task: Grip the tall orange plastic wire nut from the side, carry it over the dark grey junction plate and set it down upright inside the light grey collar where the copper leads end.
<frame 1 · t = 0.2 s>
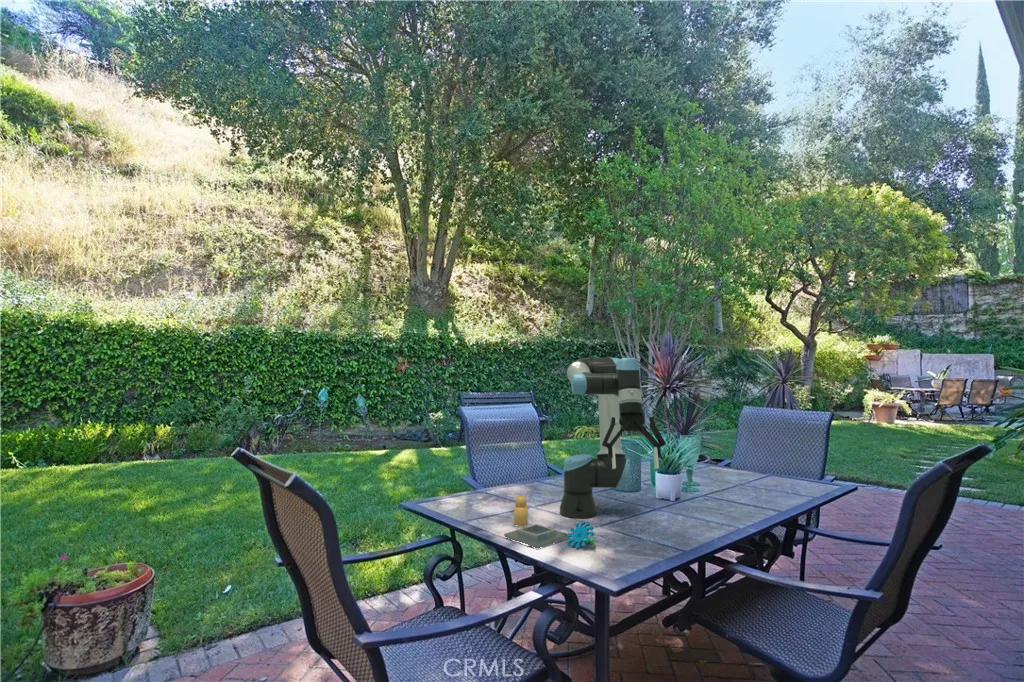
hand: (635, 468, 172), 28 cm above the table, tool tilted 20°, fingers open, 13 cm apart
gear: (581, 547, 181), on the table
junction box: (536, 538, 189), on the table
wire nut: (520, 525, 204), on the table
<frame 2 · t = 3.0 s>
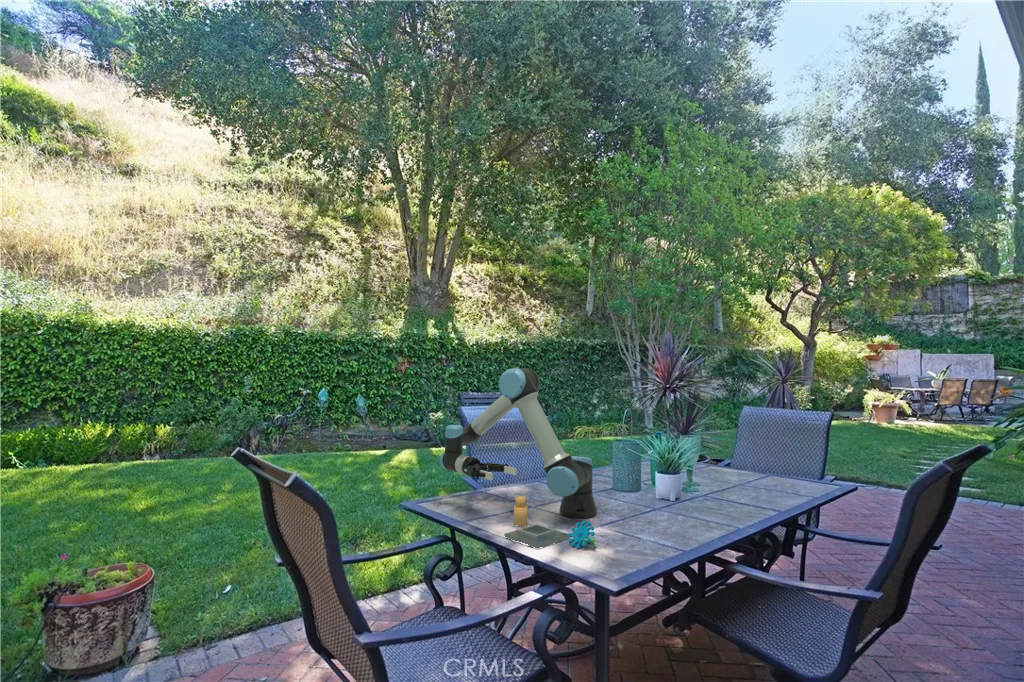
hand: (504, 474, 211), 18 cm above the table, tool horizontal, fingers open, 13 cm apart
nothing on the table moved.
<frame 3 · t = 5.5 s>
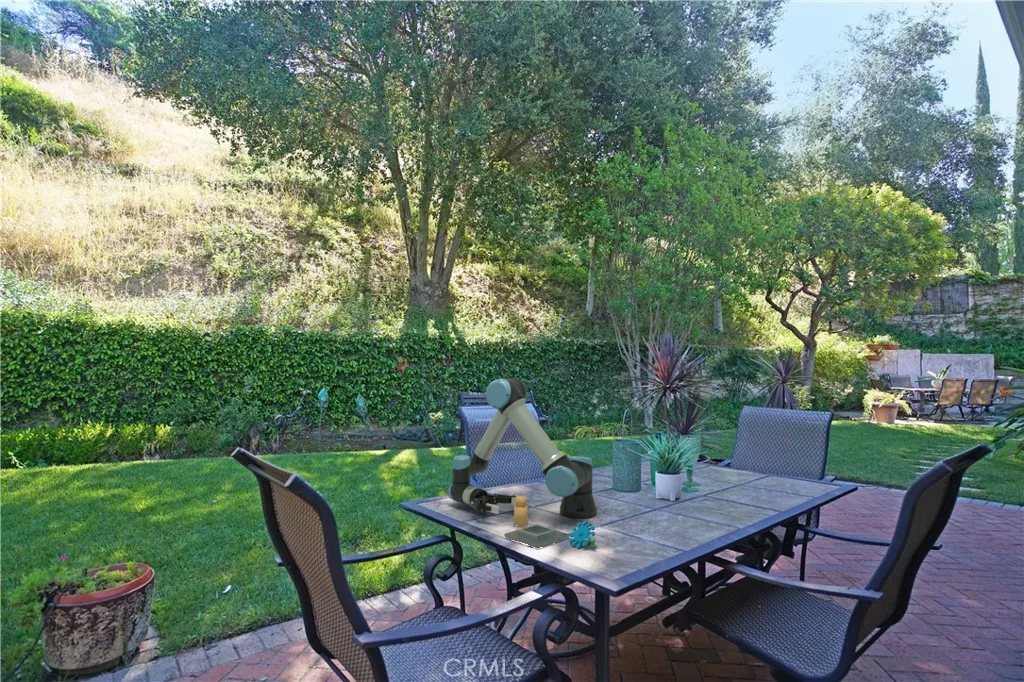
hand: (511, 507, 208), 6 cm above the table, tool horizontal, fingers open, 13 cm apart
nothing on the table moved.
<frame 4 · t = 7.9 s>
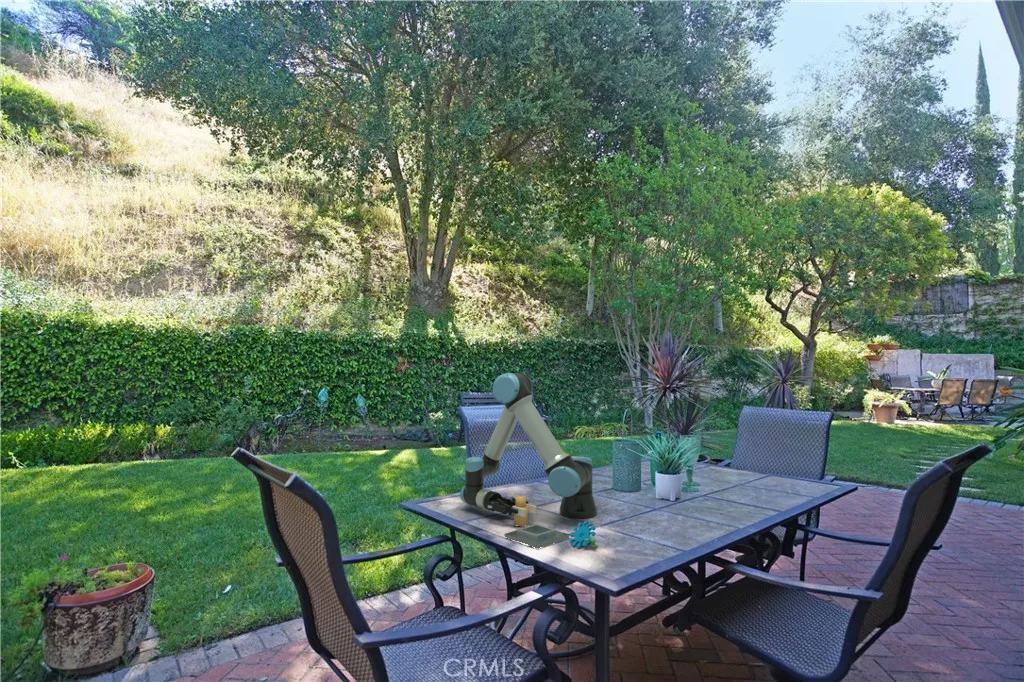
hand: (530, 511, 201), 6 cm above the table, tool horizontal, fingers closed on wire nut, 5 cm apart
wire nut: (520, 525, 204), on the table, touching gripper
everything else where it was.
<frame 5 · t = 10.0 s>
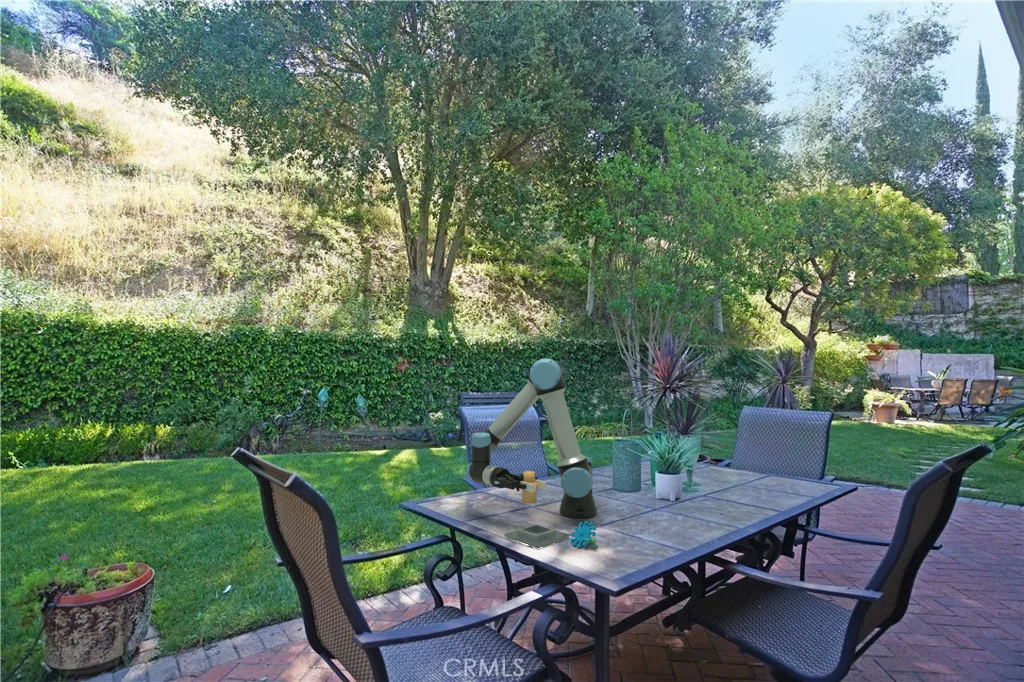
hand: (539, 487, 189), 18 cm above the table, tool horizontal, fingers closed on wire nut, 5 cm apart
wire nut: (529, 501, 192), point 12 cm above the table, touching gripper
when the fingers open (9 cm above the table, at t = 12.3 s): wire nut drops 1 cm, resting on junction box.
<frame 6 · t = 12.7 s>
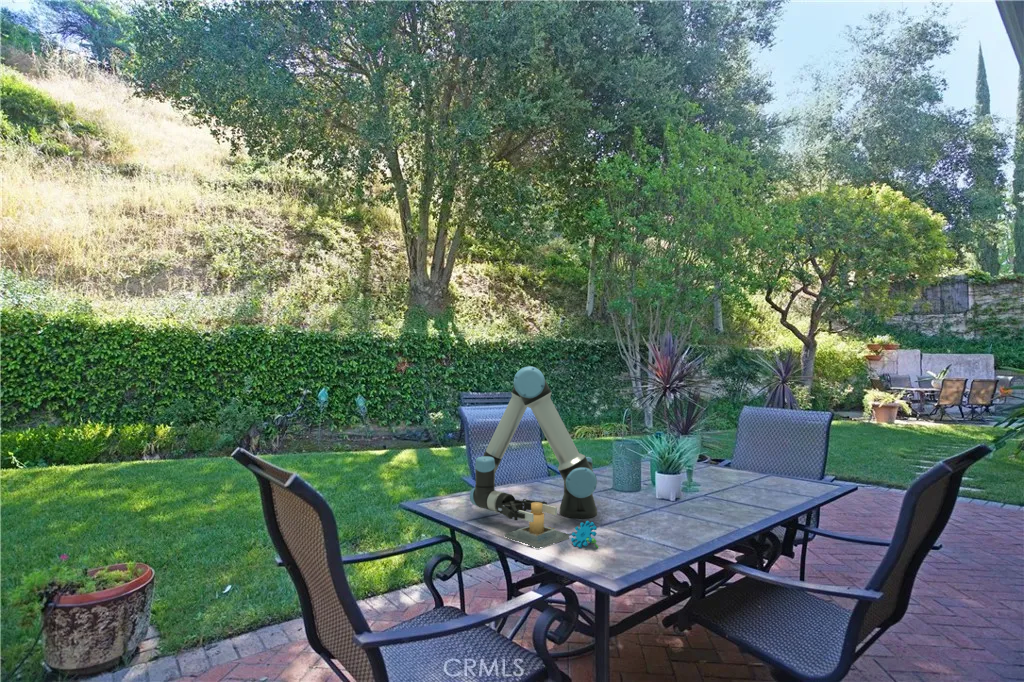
hand: (544, 514, 186), 9 cm above the table, tool horizontal, fingers open, 11 cm apart
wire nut: (536, 533, 189), point 2 cm above the table, touching junction box
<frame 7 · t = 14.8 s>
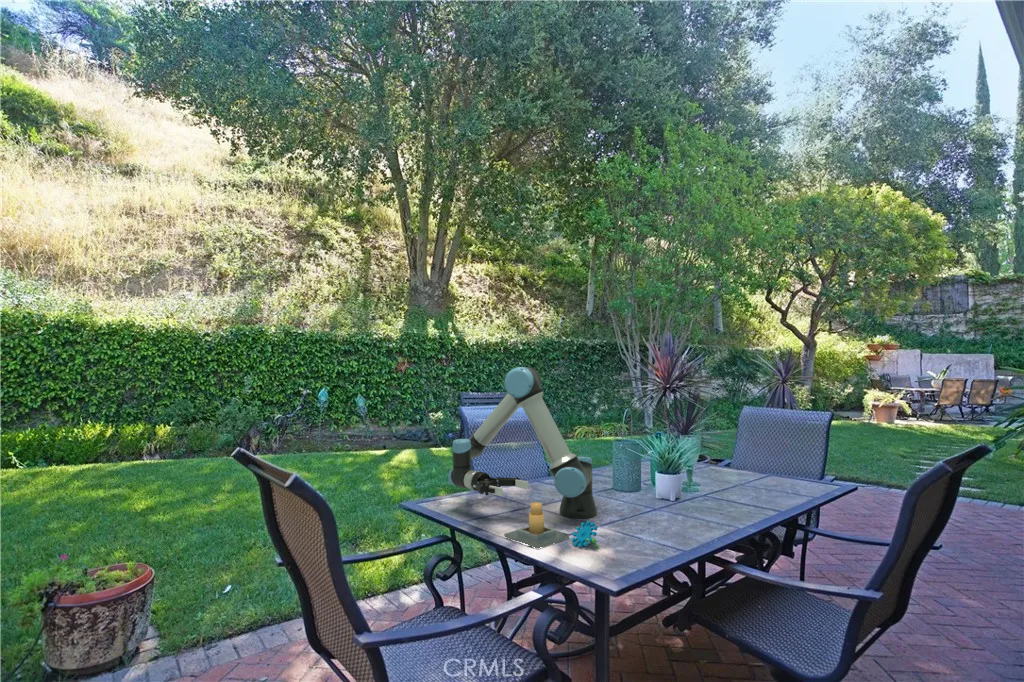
hand: (515, 488, 199), 15 cm above the table, tool horizontal, fingers open, 13 cm apart
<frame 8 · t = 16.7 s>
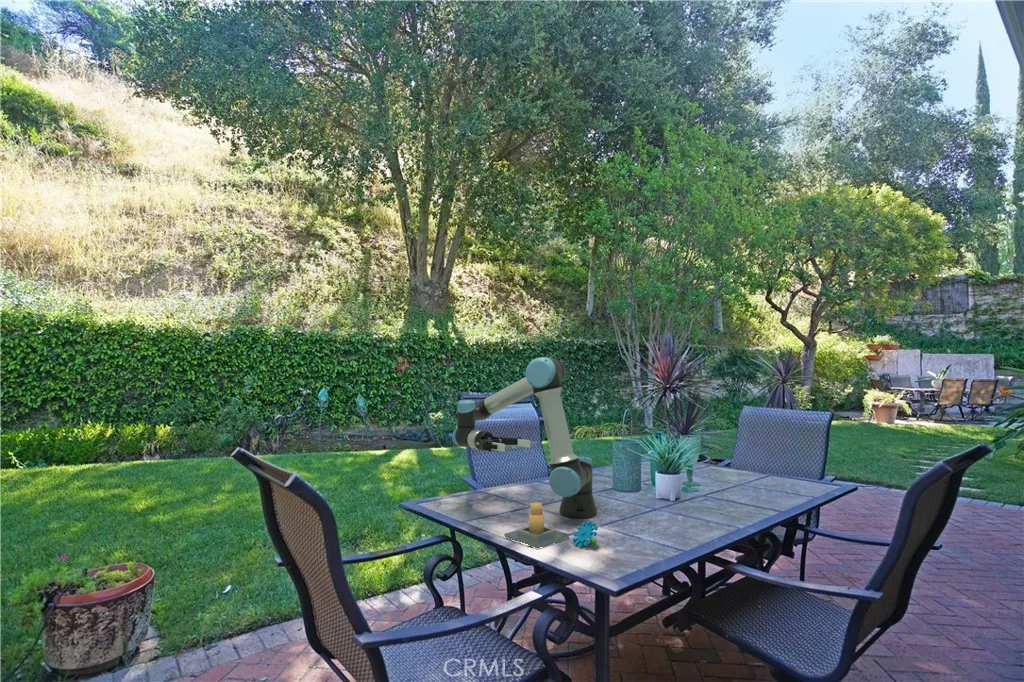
hand: (517, 446, 204), 30 cm above the table, tool horizontal, fingers open, 13 cm apart
at the end: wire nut inside the target area on the junction box (0.1 cm from its centre), point 1.5 cm above the junction box's base; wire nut tilted 0°; the gripper is holding nothing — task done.
